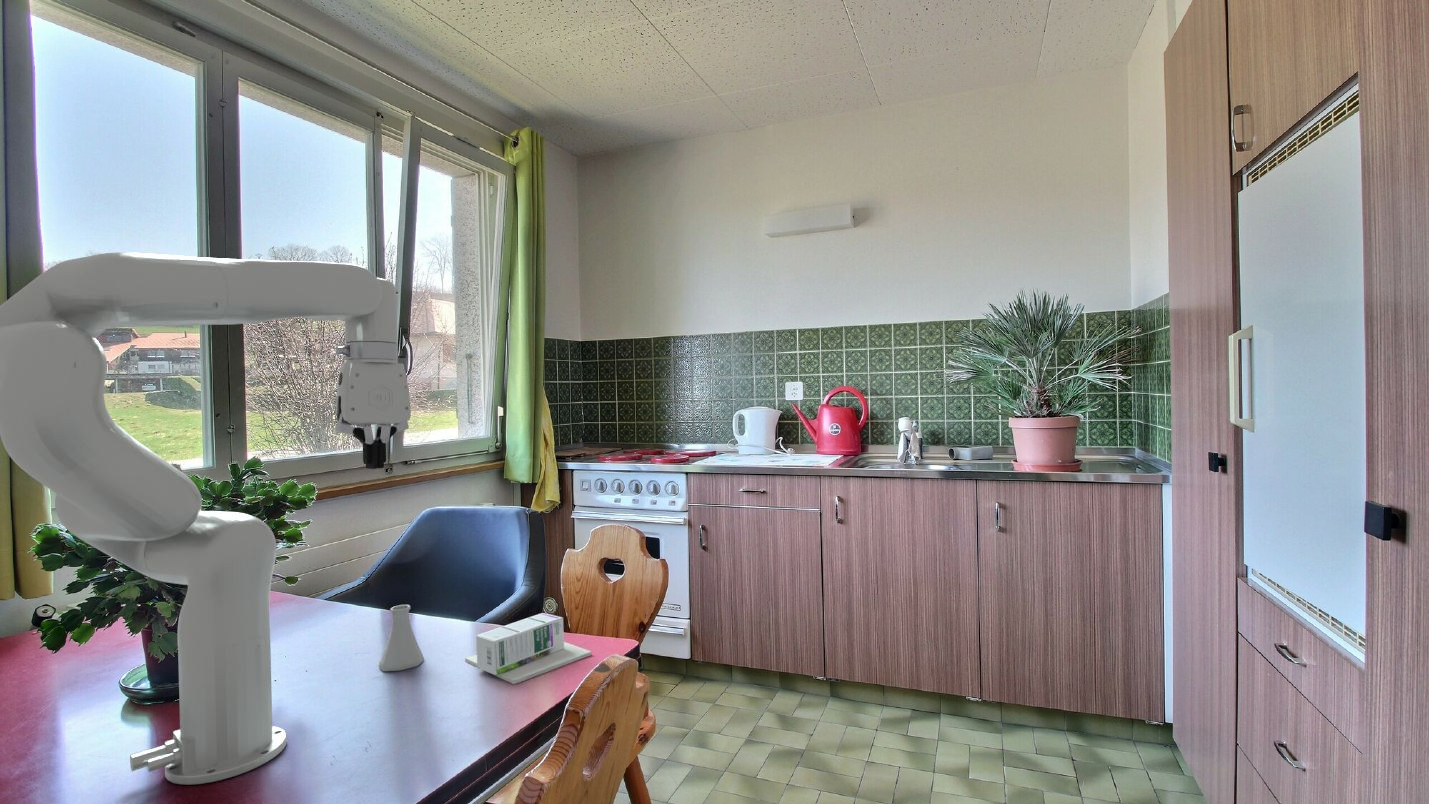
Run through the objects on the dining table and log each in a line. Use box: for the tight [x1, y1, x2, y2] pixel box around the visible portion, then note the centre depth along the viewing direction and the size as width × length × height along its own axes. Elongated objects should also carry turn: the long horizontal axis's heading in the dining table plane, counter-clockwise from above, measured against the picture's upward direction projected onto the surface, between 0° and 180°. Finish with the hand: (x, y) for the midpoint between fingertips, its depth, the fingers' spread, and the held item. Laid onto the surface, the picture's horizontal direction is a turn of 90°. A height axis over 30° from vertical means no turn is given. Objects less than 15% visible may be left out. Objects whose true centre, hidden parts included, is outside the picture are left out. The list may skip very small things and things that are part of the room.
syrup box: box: [475, 612, 565, 676], centre depth 115 cm, size 6×6×14 cm
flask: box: [378, 604, 425, 672], centre depth 115 cm, size 7×7×10 cm
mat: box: [464, 641, 592, 685], centre depth 116 cm, size 16×16×1 cm
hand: (374, 467), depth 107 cm, fingers closed
